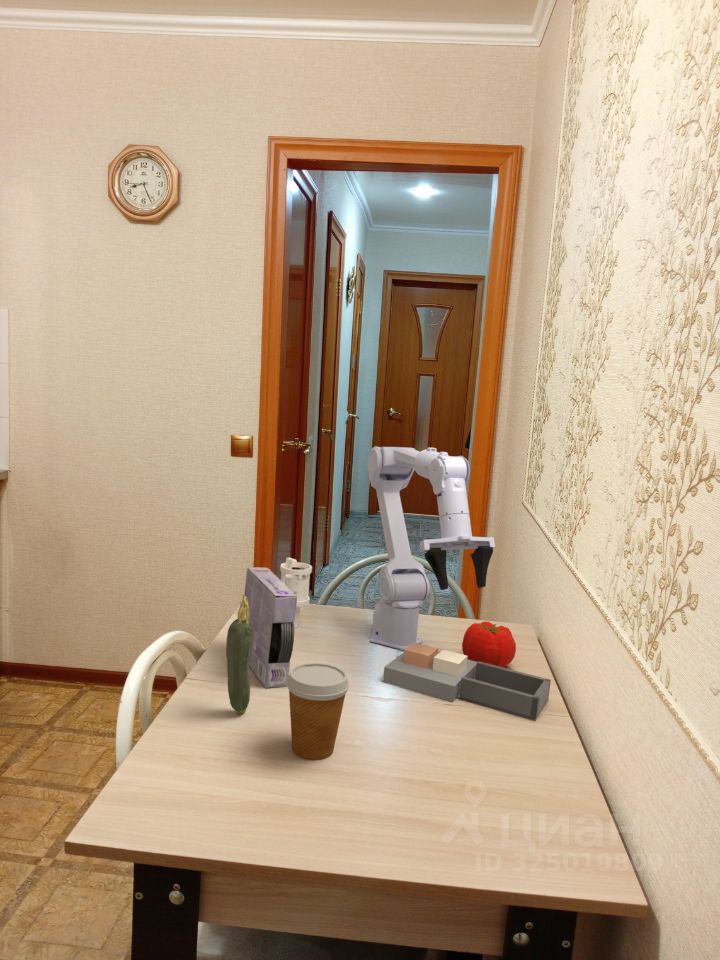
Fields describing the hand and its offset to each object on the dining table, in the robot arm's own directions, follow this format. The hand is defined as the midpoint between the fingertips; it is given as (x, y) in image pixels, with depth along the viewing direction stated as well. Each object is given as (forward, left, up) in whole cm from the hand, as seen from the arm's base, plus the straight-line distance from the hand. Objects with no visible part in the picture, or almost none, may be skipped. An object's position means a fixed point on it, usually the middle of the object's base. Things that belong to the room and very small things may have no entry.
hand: (463, 588), depth 133 cm
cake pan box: (-33, -15, -20) cm, 41 cm away
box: (+10, +1, -19) cm, 22 cm away
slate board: (-5, +1, -19) cm, 20 cm away
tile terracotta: (-7, +1, -16) cm, 18 cm away
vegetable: (-26, -33, -20) cm, 46 cm away
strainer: (-42, +9, -20) cm, 47 cm away
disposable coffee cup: (-10, -35, -20) cm, 42 cm away
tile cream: (-1, +1, -16) cm, 16 cm away
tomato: (+2, +15, -20) cm, 25 cm away
